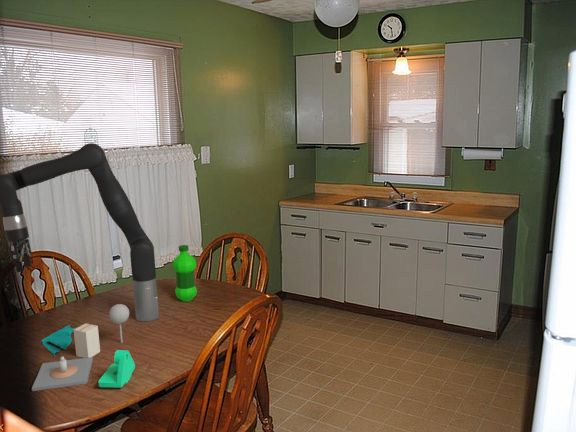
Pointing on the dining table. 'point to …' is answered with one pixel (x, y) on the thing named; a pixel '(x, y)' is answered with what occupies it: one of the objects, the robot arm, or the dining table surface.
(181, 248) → the plastic bottle
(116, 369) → the camera mount
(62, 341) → the cloth
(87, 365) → the base
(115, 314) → the lollipop
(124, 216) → the robot arm
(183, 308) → the dining table surface
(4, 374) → the dining table surface
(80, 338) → the striped cream block
